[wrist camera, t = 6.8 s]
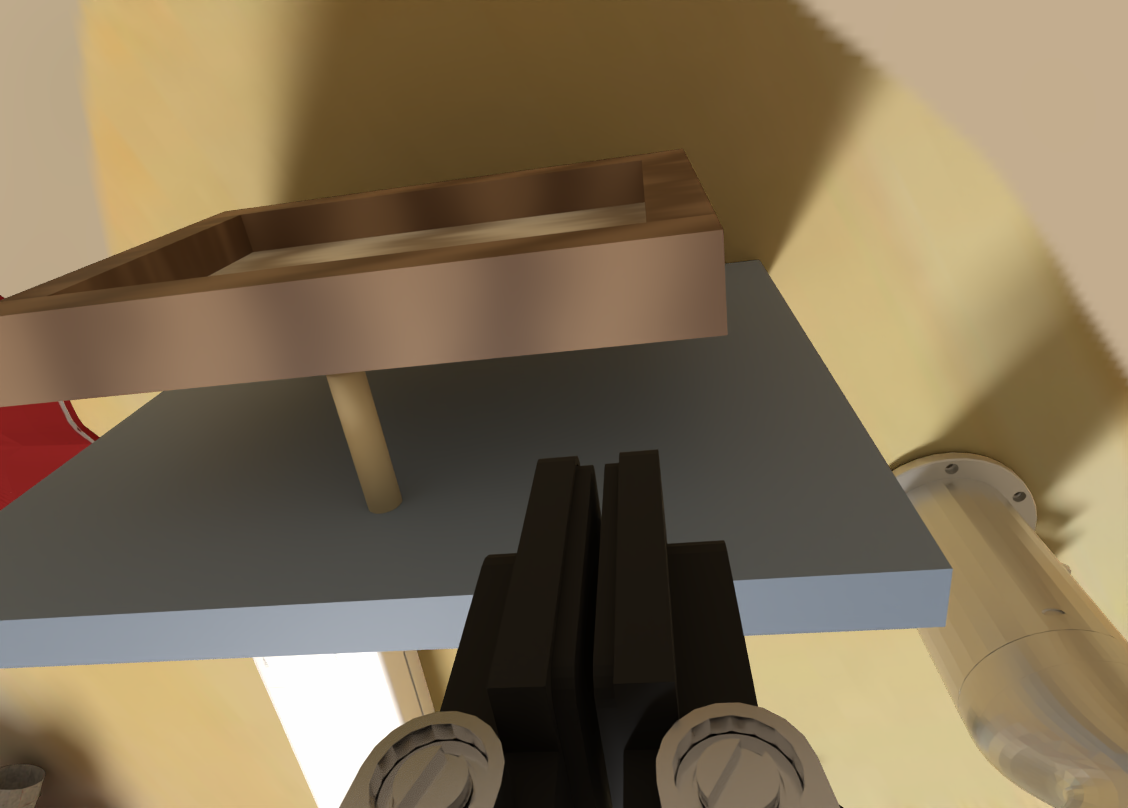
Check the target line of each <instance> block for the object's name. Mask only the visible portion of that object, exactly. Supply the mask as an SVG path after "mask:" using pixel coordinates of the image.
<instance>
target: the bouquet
mask: <svg viewBox="0 0 1128 808" xmlns="http://www.w3.org/2000/svg"><path fill="white" fill-rule="evenodd" d="M44 777H45V771H44V770H43V769H42V768H40V767H38V766H34V765H27V764H17V765H9V766H5V767H2V768H0V808H34V807H35V804H36V802H37V799H38V798H39V797H40V795H41V786H42V783H43V779H44Z"/></svg>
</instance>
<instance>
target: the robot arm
mask: <svg viewBox="0 0 1128 808" xmlns="http://www.w3.org/2000/svg"><path fill="white" fill-rule="evenodd" d="M892 472H893V474H894V475H895V477H896V479H897V480H898V482H899V483H900V485H901V487H902V488H903V490H904V491H905V493H906V495H907V496H908V498H909V499H910V501H911V503H912V504H913V506H914V507H915V509H916V511H917V512H918V514H919V515H920V517H921V519H922V520H923V522H924V523H925V525H926V527H927V528H928V530H929V531H930V533H931V535H932V536H933V538H934V539H935V541H936V543H937V544H938V546H939V547H940V549H941V551H942V552H943V554H944V555H945V557H946V559H947V560H948V562H949V563H950V565H951V567H952V568H953V571H952V579H951V587H950V595H949V603H948V610H947V618H946V626H945V627H931V628H917V630H918V632H919V635H920V637H921V639H922V641H923V643H924V645H925V647H926V649H927V651H928V653H929V655H930V657H931V659H932V661H933V663H934V665H935V667H936V669H937V671H938V673H939V675H940V677H941V679H942V681H943V683H944V685H945V687H946V689H947V691H948V693H949V695H950V697H951V699H952V701H953V703H954V705H955V707H956V709H957V711H958V713H959V715H960V717H961V719H962V720H963V722H964V724H965V726H966V728H967V730H968V732H969V734H970V736H971V738H972V740H973V741H974V743H975V745H976V746H977V748H978V749H979V751H980V752H981V753H982V754H983V756H984V757H985V758H986V759H987V760H988V762H989V763H990V764H991V765H993V766H994V767H995V768H996V769H997V770H998V771H999V772H1000V773H1001V774H1002V775H1003V776H1004V777H1006V778H1007V779H1008V780H1010V781H1011V782H1013V783H1014V784H1015V785H1017V786H1018V787H1020V788H1021V789H1023V790H1024V791H1026V792H1027V793H1029V794H1031V795H1033V796H1034V797H1036V798H1038V799H1040V800H1041V801H1043V802H1045V803H1047V804H1049V805H1051V806H1053V807H1055V808H1128V642H1127V641H1126V639H1125V638H1124V637H1123V636H1122V635H1121V633H1120V632H1119V631H1118V630H1117V629H1116V628H1115V626H1114V625H1113V624H1112V623H1111V622H1110V620H1109V619H1108V618H1107V617H1106V616H1105V614H1104V613H1103V612H1102V611H1101V610H1100V609H1099V607H1098V606H1097V605H1096V604H1095V603H1094V601H1093V600H1092V599H1091V598H1090V597H1089V596H1088V594H1087V593H1086V592H1085V591H1084V590H1083V588H1082V587H1081V586H1080V585H1079V584H1078V582H1077V581H1076V580H1075V579H1074V578H1073V577H1072V575H1071V570H1070V568H1069V566H1067V565H1066V564H1063V563H1061V562H1060V561H1059V560H1058V559H1057V558H1056V556H1055V555H1054V554H1053V553H1052V552H1051V550H1050V549H1049V548H1048V547H1047V546H1046V545H1045V543H1044V542H1043V541H1042V540H1041V539H1040V537H1039V536H1038V535H1037V534H1036V533H1035V528H1036V523H1037V511H1036V504H1035V501H1034V498H1033V496H1032V493H1031V492H1030V490H1029V489H1028V487H1027V486H1026V484H1025V483H1024V482H1023V481H1022V480H1021V479H1020V478H1019V477H1018V475H1017V474H1016V473H1015V472H1014V471H1012V470H1011V469H1010V468H1008V467H1007V466H1005V465H1004V464H1002V463H1001V462H998V461H996V460H993V459H991V458H989V457H986V456H981V455H977V454H972V453H955V452H951V453H942V454H934V455H930V456H926V457H923V458H919V459H916V460H913V461H911V462H909V463H906V464H904V465H902V466H900V467H898V468H896V469H895V470H893V471H892ZM339 808H843V807H842V806H840V805H839V804H838V802H837V799H836V797H835V795H834V793H833V790H832V788H831V786H830V784H829V781H828V779H827V777H826V775H825V772H824V770H823V768H822V766H821V763H820V761H819V759H818V757H817V755H816V754H815V752H814V750H813V749H812V747H811V746H810V744H809V743H808V741H807V739H806V738H805V736H804V735H803V734H802V733H800V732H799V731H798V730H797V729H796V728H795V727H794V726H793V725H791V724H790V723H789V722H788V721H787V720H786V719H784V718H782V717H780V716H778V715H776V714H774V713H772V712H770V711H768V710H766V709H764V708H761V707H758V704H757V699H756V694H755V689H754V684H753V679H752V674H751V669H750V664H749V659H748V653H747V648H746V643H745V638H744V633H743V628H742V623H741V618H740V613H739V608H738V603H737V598H736V592H735V587H734V582H733V577H732V572H731V567H730V562H729V557H728V552H727V547H726V543H725V541H724V540H718V541H702V542H686V543H670V544H667V534H666V523H665V513H664V502H663V492H662V481H661V471H660V460H659V451H658V449H655V450H643V451H630V452H620V453H619V463H609V464H605V467H604V483H603V500H602V517H601V510H600V503H599V496H598V489H597V482H596V475H595V469H594V466H593V465H584V466H580V462H579V458H578V456H568V457H556V458H543V459H538V462H537V465H536V470H535V474H534V479H533V483H532V487H531V492H530V496H529V501H528V505H527V510H526V514H525V519H524V523H523V528H522V532H521V537H520V541H519V546H518V550H517V553H508V554H491V555H488V556H487V557H485V559H484V561H483V564H482V567H481V570H480V574H479V577H478V581H477V584H476V588H475V591H474V595H473V598H472V602H471V605H470V609H469V612H468V615H467V619H466V622H465V626H464V629H463V633H462V636H461V640H460V643H459V647H458V650H457V654H456V657H455V661H454V664H453V668H452V671H451V675H450V678H449V682H448V685H447V689H446V692H445V696H444V699H443V703H442V706H441V710H440V712H433V713H430V714H427V715H423V716H420V717H416V718H413V719H412V720H410V721H408V722H406V723H405V724H403V725H401V726H399V727H397V728H396V729H394V730H392V731H391V732H390V733H389V734H388V735H387V736H386V737H385V738H384V739H382V740H381V741H380V742H379V743H378V744H377V745H376V746H375V747H374V748H373V750H372V751H371V753H370V754H369V755H368V757H367V758H366V760H365V761H364V763H363V764H362V765H361V767H360V769H359V771H358V773H357V775H356V777H355V778H354V780H353V782H352V784H351V786H350V788H349V790H348V792H347V794H346V795H345V797H344V799H343V801H342V803H341V805H340V807H339Z"/></svg>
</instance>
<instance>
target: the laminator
mask: <svg viewBox="0 0 1128 808" xmlns="http://www.w3.org/2000/svg"><path fill="white" fill-rule="evenodd" d="M252 658H253V660H254V662H255V665H256V667H257V669H258V671H259V674H260V676H261V678H262V681H263V683H264V685H265V687H266V690H267V692H268V694H269V697H270V699H271V701H272V703H273V706H274V708H275V710H276V713H277V715H278V717H279V719H280V722H281V724H282V726H283V729H284V731H285V733H286V735H287V738H288V740H289V742H290V745H291V747H292V749H293V751H294V754H295V756H296V758H297V761H298V763H299V765H300V767H301V770H302V772H303V774H304V777H305V779H306V781H307V783H308V786H309V788H310V790H311V793H312V795H313V797H314V799H315V802H316V804H317V806H318V808H339V807H340V805H341V803H342V801H343V799H344V797H345V795H346V794H347V792H348V790H349V788H350V786H351V784H352V782H353V780H354V778H355V777H356V775H357V773H358V771H359V769H360V767H361V765H362V764H363V763H364V761H365V760H366V758H367V757H368V755H369V754H370V753H371V751H372V750H373V748H374V747H375V746H376V745H377V744H378V743H379V742H380V741H381V740H382V739H384V738H385V737H386V736H387V735H388V734H389V733H390V732H391V731H392V730H394V729H396V728H397V727H399V726H401V725H403V724H405V723H406V722H408V721H410V720H412V719H413V718H416V717H420V716H423V715H427V714H430V713H433V712H435V710H434V707H433V703H432V700H431V697H430V693H429V690H428V686H427V683H426V680H425V676H424V673H423V669H422V666H421V663H420V659H419V656H418V652H417V650H408V651H386V652H363V653H340V654H317V655H295V656H272V657H252Z"/></svg>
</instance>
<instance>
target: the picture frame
mask: <svg viewBox="0 0 1128 808" xmlns="http://www.w3.org/2000/svg"><path fill="white" fill-rule="evenodd" d="M725 335H728V330H727V306H726V282H725V258H724V235H723V228H722V226H721V224H720V222H719V220H718V218H717V216H716V214H715V212H714V210H713V208H712V206H711V204H710V202H709V200H708V198H707V196H706V194H705V192H704V190H703V188H702V186H701V184H700V182H699V180H698V178H697V176H696V174H695V172H694V170H693V168H692V166H691V164H690V162H689V160H688V158H687V156H686V154H685V152H684V150H683V149H677V150H670V151H663V152H655V153H648V154H641V155H633V156H626V157H619V158H611V159H604V160H597V161H590V162H582V163H575V164H568V165H560V166H553V167H546V168H538V169H531V170H524V171H517V172H509V173H502V174H495V175H487V176H480V177H473V178H466V179H458V180H451V181H444V182H436V183H429V184H422V185H414V186H407V187H400V188H393V189H385V190H378V191H371V192H363V193H356V194H349V195H341V196H334V197H327V198H320V199H312V200H305V201H298V202H290V203H283V204H276V205H269V206H261V207H254V208H247V209H239V210H232V211H225V212H222V213H220V214H217V215H215V216H212V217H209V218H207V219H204V220H202V221H199V222H197V223H194V224H192V225H189V226H187V227H184V228H182V229H179V230H177V231H174V232H172V233H169V234H167V235H164V236H162V237H159V238H157V239H154V240H151V241H149V242H146V243H144V244H141V245H139V246H136V247H134V248H131V249H129V250H126V251H124V252H121V253H119V254H116V255H114V256H111V257H109V258H106V259H104V260H102V261H98V262H96V263H93V264H91V265H88V266H86V267H84V268H81V269H78V270H76V271H73V272H71V273H68V274H66V275H63V276H61V277H58V278H56V279H53V280H51V281H48V282H46V283H43V284H40V285H38V286H35V287H33V288H31V289H28V290H26V291H23V292H20V293H18V294H15V295H13V296H10V297H8V298H5V299H3V300H0V407H6V406H16V405H27V404H37V403H47V402H57V401H67V400H77V399H87V398H97V397H107V396H118V395H128V394H138V393H148V392H158V391H168V390H178V389H188V388H199V387H209V386H219V385H229V384H239V383H249V382H259V381H269V380H280V379H290V378H300V377H310V376H320V375H330V374H340V373H350V372H360V371H371V370H381V369H391V368H401V367H411V366H421V365H431V364H441V363H452V362H462V361H472V360H482V359H492V358H502V357H512V356H522V355H533V354H543V353H553V352H563V351H573V350H583V349H593V348H603V347H614V346H624V345H634V344H644V343H654V342H664V341H674V340H684V339H694V338H705V337H715V336H725Z"/></svg>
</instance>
